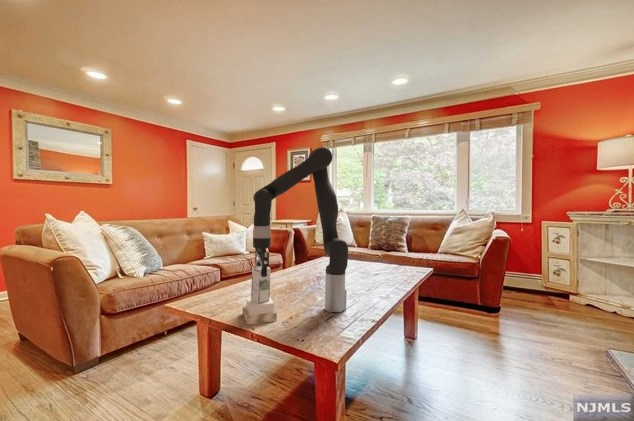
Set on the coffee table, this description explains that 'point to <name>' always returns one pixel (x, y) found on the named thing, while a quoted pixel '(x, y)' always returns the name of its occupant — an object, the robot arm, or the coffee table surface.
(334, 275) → the robot arm
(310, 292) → the coffee table surface
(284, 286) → the coffee table surface
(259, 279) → the syrup box
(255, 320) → the ash base block
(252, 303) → the off-white top block
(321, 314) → the coffee table surface
